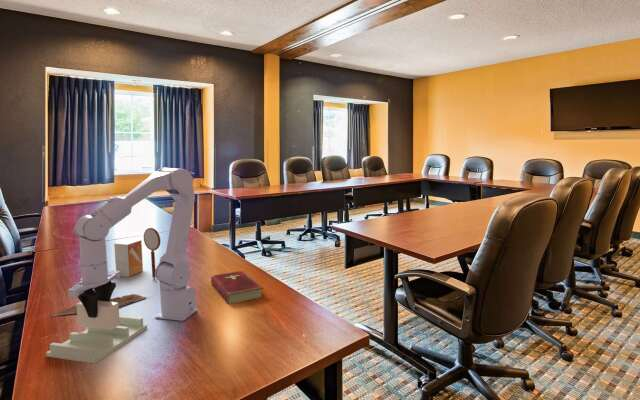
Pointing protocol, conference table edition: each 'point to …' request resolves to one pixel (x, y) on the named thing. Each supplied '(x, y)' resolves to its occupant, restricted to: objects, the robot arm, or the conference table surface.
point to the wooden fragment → (119, 300)
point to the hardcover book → (236, 286)
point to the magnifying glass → (152, 245)
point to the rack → (97, 341)
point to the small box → (128, 257)
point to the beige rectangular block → (100, 316)
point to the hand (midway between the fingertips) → (98, 314)
